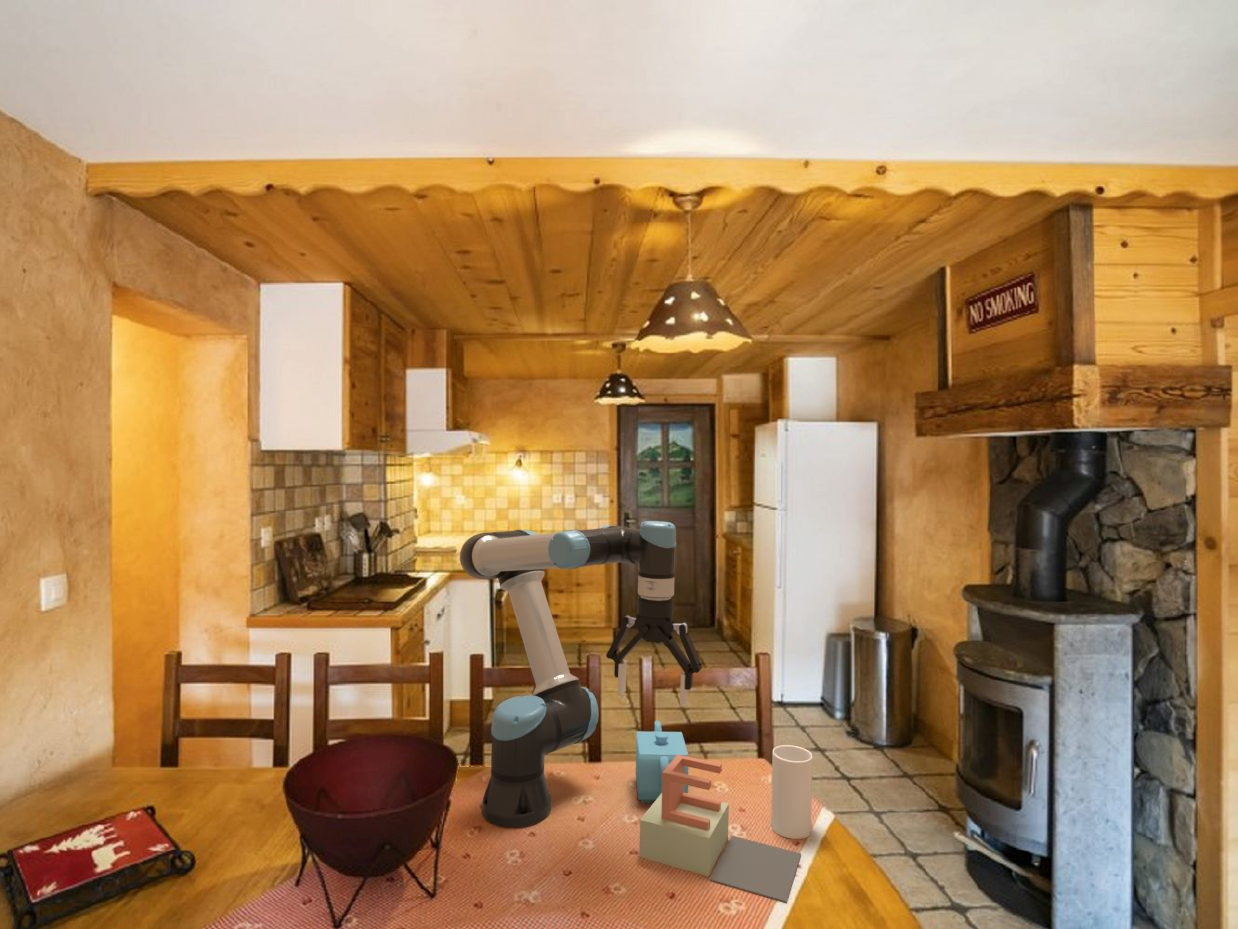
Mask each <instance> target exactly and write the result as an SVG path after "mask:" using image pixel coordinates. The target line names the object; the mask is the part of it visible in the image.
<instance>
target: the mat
mask: <svg viewBox="0 0 1238 929" xmlns="http://www.w3.org/2000/svg"><path fill="white" fill-rule="evenodd" d="M726 844H727V845H725V847H724V849H723V852H722V853H721V856H720V858H719V859H718V860H717V861H718V862H716V863H717V864H715V865H716V866H714V868H713V869H714V870H712V871H713V872H711V874H710V875H711V876H709V882H714V883H716V884H720V885H724V886H727V887H730V888H733V889H738V890H740V891H744V892H746V893H751V894H754V895H758V896H761V897H765V898H768V899H771V900H774V901H779V902H780V903H781V902H782V903H784V904H785V903H786V904H787V902H788V898H789V895H790V892H791V889H792V886H793V883H794V879H795V876H796V873H797V869H798V866H799V862H800V859H801V857H802V856H801V855H802V853H801V852H797V851H793V850H790V849H786V848H781V847H777V846H773V845H770V844H766V843H762V842H758V841H754V840H751V839H747V838H742V837H738V836H735V835H731V836H730V838H729V839H728V841H727V843H726Z"/></svg>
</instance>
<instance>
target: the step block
mask: <svg viewBox="0 0 1238 929" xmlns="http://www.w3.org/2000/svg"><path fill="white" fill-rule="evenodd" d="M729 809H730V804H729V803H728V802H724V801H721V809H720V810H719V811H715V810H711V809H707V808H703V807H699V806H695V805H690V804H686V803H682V802H681V803H680V805H679V806H678V807H677V809H676V810H675V811H679V812H683V813H687V814H691V815H695V816H699V817H703V818H707V819H710V828H709V829H708V830H705V829H702V828H698V827H694V826H690V825H686V824H682V823H678V822H675V821H671V820H667V819H663V818H661V813H662V793H661V794H660V796H659V797H658V798H657V799H656V800H654V801H653V802H652V803H651V806H650V807H649V808H648V809H647V810H646V812H645V813H644V814H643V816H642V817H641V818H640V819H639V848H638V849H639V850H638V852H639V854H638V855H639V856H638V857H639V858H642V859H646V860H649V861H652V862H655V863H660V864H663V865H667V866H669V867H673V868H676V869H681V870H683V871H687V872H690V873H694V874H698V875H701V876H704V877H709V878H710V875H711V874H712V871H713V869H714V868H715V865H716V863H717V861H718V860H719V857H720V855H721V854H722V853H723V852H722V851H724V849H725V847H726V844H727V843H728V841H729V819H730V818H729V816H730V814H729V812H730V810H729Z"/></svg>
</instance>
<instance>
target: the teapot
mask: <svg viewBox="0 0 1238 929" xmlns="http://www.w3.org/2000/svg"><path fill="white" fill-rule="evenodd" d="M635 736H636V738H635V739H636V741H635V742H636V743H635V779H636V780H635V781H636V782H635V783H636V791H637V799H638V800H639V801H640V802H642V803H644V804H653V803H654V801H656V799H657V798H658V797H659V796H660V794H661V793H662V772H663V771H664V770H665V769H666V767H667V766H668V765H669V764H670V763H671V762H672V760H673V759H674V758H675V757H676V756H677V755H682V756H687V757H690V755H689V753H688V749H687V746H686V741H685V738H684V735H683V733H682V731H663V728H662V722H661V721H660V720H655V721H654V729H653V731H643V730H642V731H638V730H637V731H636V734H635ZM684 774H688V775H689V767H687V766H684ZM684 793H688V794H689V785H684Z"/></svg>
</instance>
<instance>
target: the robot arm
mask: <svg viewBox="0 0 1238 929" xmlns="http://www.w3.org/2000/svg"><path fill="white" fill-rule="evenodd" d="M676 534H677V532H676V526H675V525H674V524H673V523H672V522H669V521H658V520H647V521H642V522H641V523H640V528H639V529H638V528H632V527H625V526H620V525H604V526H602V527H600V528H592V529H591V528H589V529H570V530H563V531H558V532H549V533H540V534H538V533H537V532H534V531H532V530H526V529H525V530H523V529H514V530H508V531H506V530H505V531H493V532H481V533H477V534H475V535H472V536H471V537H469V538H468V539H467V540H466V541H465V542H464V543H463V544H462V547H461V549H460V553H459V562H460V565H461V567H462V569H463V571H464V572H465V573H466V574H467V575H468V576H470V577H472V578H474V579H478V580H493V579H494V580H495V579H498V580H497V581H498V583H499V586H500V589H501V590H502V591H504V592H507V593H508V595H509V599H510V602H511V605H512V609H513V612H514V615H515V619H516V622H517V626H518V629H519V633H520V636H521V639H522V642H523V646H524V650H525V652H526V656H527V660H528V662H529V666H530V670H531V673H532V676H533V679H534V683H535V688H534V691H533V692H532V694H531V695H530V694H528V695H527V694H526V695H525V694H524V695H523V696H521V695H518V696H513V697H510V698H508V699H506V700H504V701H502V702H501V703H499V704H498V705H497V706H496V707H495V709H494V711H493V714H492V722H491V727H490V732H491V754H490V756H491V757H490V758H491V759H490V777H489V780H488V783H487V786H486V789H485V792H484V794H483V797H482V802H481V813H482V817H483V818H484V819H485V821H486V822H488V823H490V824H492V825H495V826H497V827H502V828H515V829H516V828H517V829H518V828H524V827H528V826H533V825H536V824H537V823H540V822H542V821H543V820H545V819H546V818H547V817H548V816H549V814H550V813H551V811H552V796H551V792H550V788H549V785H548V782H547V779H546V775H545V756H546V755H548V754H551V753H554V752H556V751H559V750H562V749H564V748H568V747H569V746H573V745H576V744H579V743H580V742H582V741H583V740H586V739H588V738H589V737H591V735H593V733H594V732H595V730H596V728H597V724H598V722H599V705H598V701H597V699H596V696H595V695H594V693H593V691H592V692H591V691H590V689H589V688H587V687H584V686H582V684H581V683H580V679H579V677H577V676H576V675H573V674H572V673H570V669H569V666H568V662H567V659H566V656H565V653H564V649H563V646H562V643H561V641H560V637H559V635H558V631H557V630H558V629H557V627H556V625H555V622H554V619H553V616H552V611H551V608H550V606H549V602H548V599H547V597H546V593H545V589H544V587H543V583H542V580H543V578H544V576H545V574H546V572H545V571H544V570H547V569H548V570H550V569H563V570H574V569H578V568H584V567H590V566H600V565H610V564H617V563H626V564H633V565H638V575H637V576H638V578H637V580H638V581H637V594H638V595H639V596H638V597H637V602H636V603H637V604H636V617H632V616H631V614H627V615H625V616H624V617H622V619H621V626H620V628H619V630H618V632H617V634H616V636H615V638H614V640H613V642H612V643H611V645H610V647H609V649H608V651H607V652H606V656H605V657H606V658H607V659H609V660H613V662H614V671H613V672H614V673H613V675H614V678H617V695H618V696H622V695H623V694H625V693H626V690H627V665H628V660H624V659H625V658H626V656H628V654H629V653H630V652H632V650H633V649H634V648H635V647H636V646H637V645H638V644H639V643H640V642H641V641H642V640H644V641H645V642H646V643H651V642H653V643H656V644H661V643H662V644H663V645H664V646H665V647H666V648H667V650H669V652H670V653H671V656H673V657H674V659H675V660H676V663H677V664H678V665H679V667H680V668H681V670H683V672H682V673H681V674H680V688H679V707H681V708H684V706H686V704H687V703H688V694H689V693H688V692H689V691H690V690H691V689H692V688H693V683H694V680H693V679H694V674H697V673H700V671H701V670H702V669H703V664H702V662H701V660H700V657H699V655H698V652H697V650H696V647H695V645H694V643H693V641H692V640H693V639H692V638H691V636H690V633H689V631H690V630H689V624H688V622H687V621H686V622H685V621H684V622H683V623H675V621H674V608H675V607H674V602H675V600H674V598H673V596H675V566H676V565H675V564H676V550H677V535H676ZM633 626H635V628H636V629H637V633H636V634H635V635H634V636H633V638H632V639H631V640H630V641H629V642H628V643H627V644H626V645H625V646H624V647H623V648H622V649H621V651H620V652H619V653H618V651H619V649H620V647H621V646H622V644H623V642H624V639H625V638H626V636H627V634H628V632H629V630H630V628H631V627H633ZM674 630H675V631H676V633H677V635H679V638H680V641H681V643H682V646H683V648H684V651H685V653H686V655H685V653H684V651H683V650H682V649H681V647H680V646H679V644H678V643H677V641H676V639H675V637H674V635H673V634H672V633H673V632H674Z"/></svg>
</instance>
